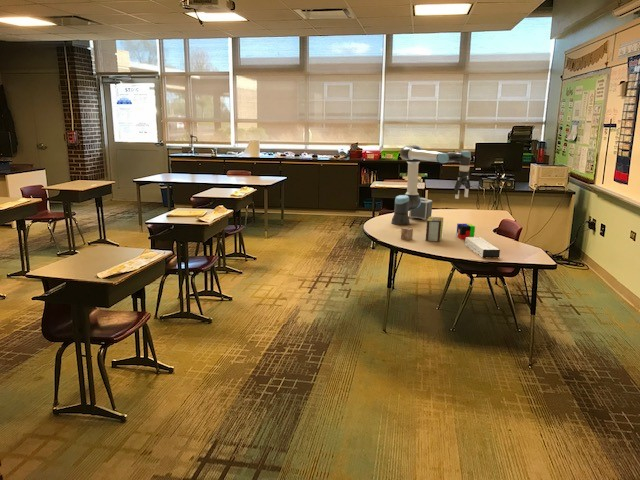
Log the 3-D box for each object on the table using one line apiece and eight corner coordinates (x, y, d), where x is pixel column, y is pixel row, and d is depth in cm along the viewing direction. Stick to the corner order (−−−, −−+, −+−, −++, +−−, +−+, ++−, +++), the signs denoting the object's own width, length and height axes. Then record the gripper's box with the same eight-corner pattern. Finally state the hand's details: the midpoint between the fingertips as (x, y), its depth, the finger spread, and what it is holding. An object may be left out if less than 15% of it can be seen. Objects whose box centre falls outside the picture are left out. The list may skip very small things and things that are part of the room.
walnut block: (401, 238, 371) (401, 228, 369) (405, 237, 375) (406, 227, 373) (407, 240, 367) (408, 229, 365) (412, 238, 371) (413, 228, 369)
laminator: (499, 258, 326) (500, 249, 325) (480, 258, 325) (481, 249, 324) (479, 245, 359) (480, 237, 358) (463, 245, 358) (464, 236, 357)
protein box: (441, 237, 378) (443, 217, 374) (439, 242, 364) (441, 221, 360) (427, 236, 381) (429, 216, 378) (425, 240, 367) (426, 220, 363)
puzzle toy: (456, 236, 384) (457, 223, 381) (468, 236, 384) (470, 223, 382) (460, 239, 374) (462, 226, 371) (473, 239, 375) (475, 226, 372)
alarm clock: (432, 218, 446) (434, 198, 442) (427, 221, 435) (428, 200, 431) (413, 216, 456) (414, 196, 451) (407, 218, 445) (409, 198, 440)
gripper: (459, 172, 376) (457, 200, 381) (476, 170, 393) (473, 196, 398) (451, 171, 381) (448, 198, 387) (468, 169, 398) (465, 195, 403)
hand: (461, 197), depth 392 cm, fingers open, 13 cm apart
